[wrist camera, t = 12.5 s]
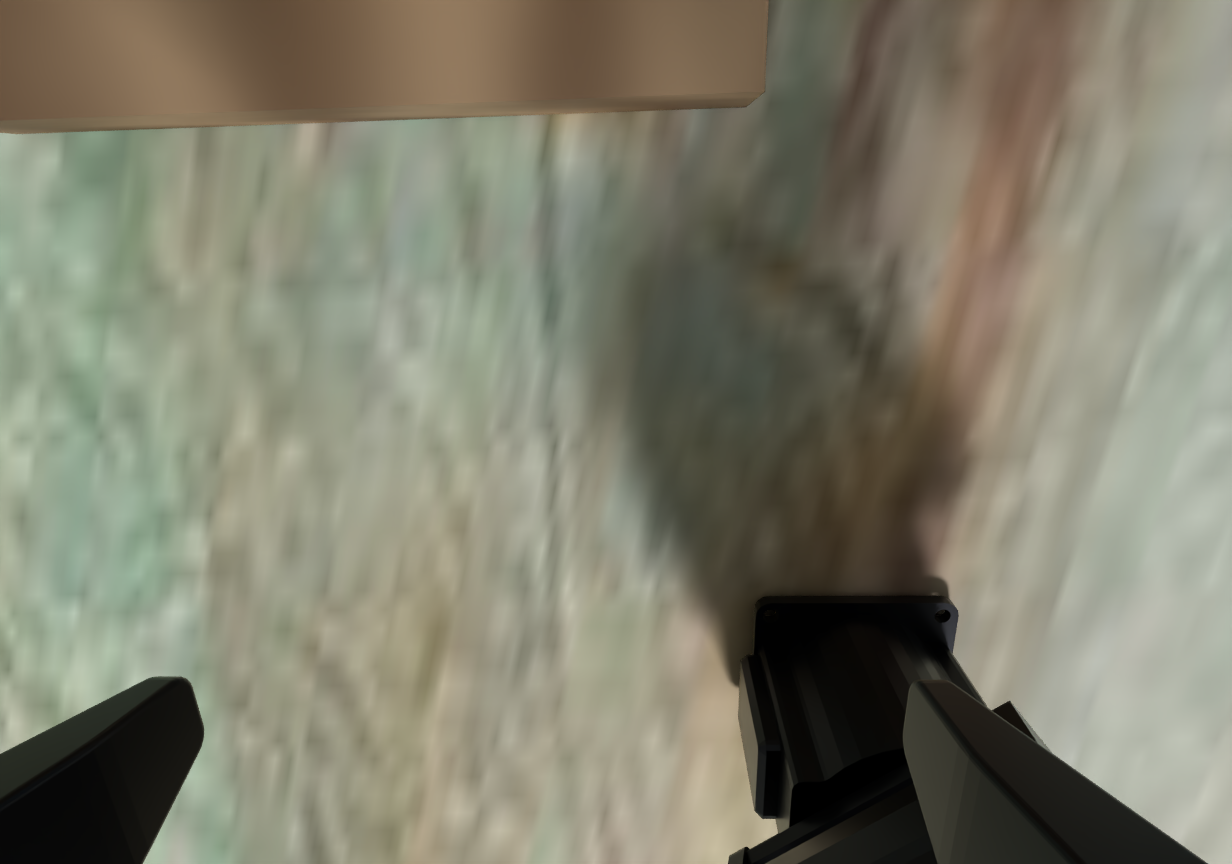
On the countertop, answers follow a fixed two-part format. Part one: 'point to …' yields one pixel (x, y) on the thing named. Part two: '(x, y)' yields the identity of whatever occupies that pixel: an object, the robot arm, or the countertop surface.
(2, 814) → the robot arm
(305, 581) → the countertop surface
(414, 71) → the walnut stand
